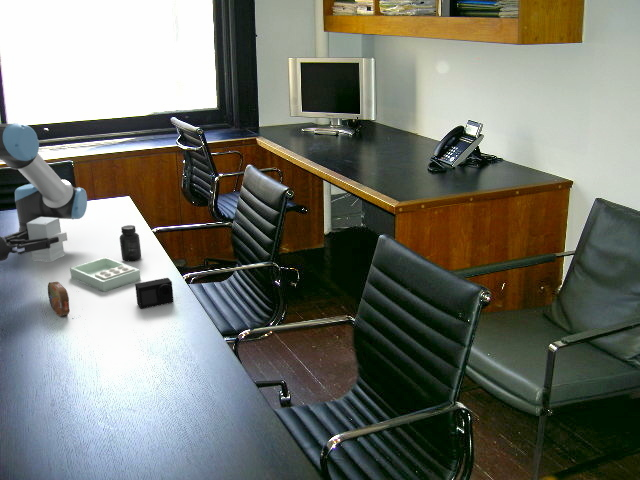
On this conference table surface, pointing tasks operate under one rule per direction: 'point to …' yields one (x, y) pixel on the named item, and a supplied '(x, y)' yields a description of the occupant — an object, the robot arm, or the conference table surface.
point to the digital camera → (154, 293)
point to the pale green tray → (88, 271)
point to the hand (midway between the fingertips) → (58, 232)
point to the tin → (58, 298)
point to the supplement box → (41, 230)
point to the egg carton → (113, 272)
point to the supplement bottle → (130, 244)
